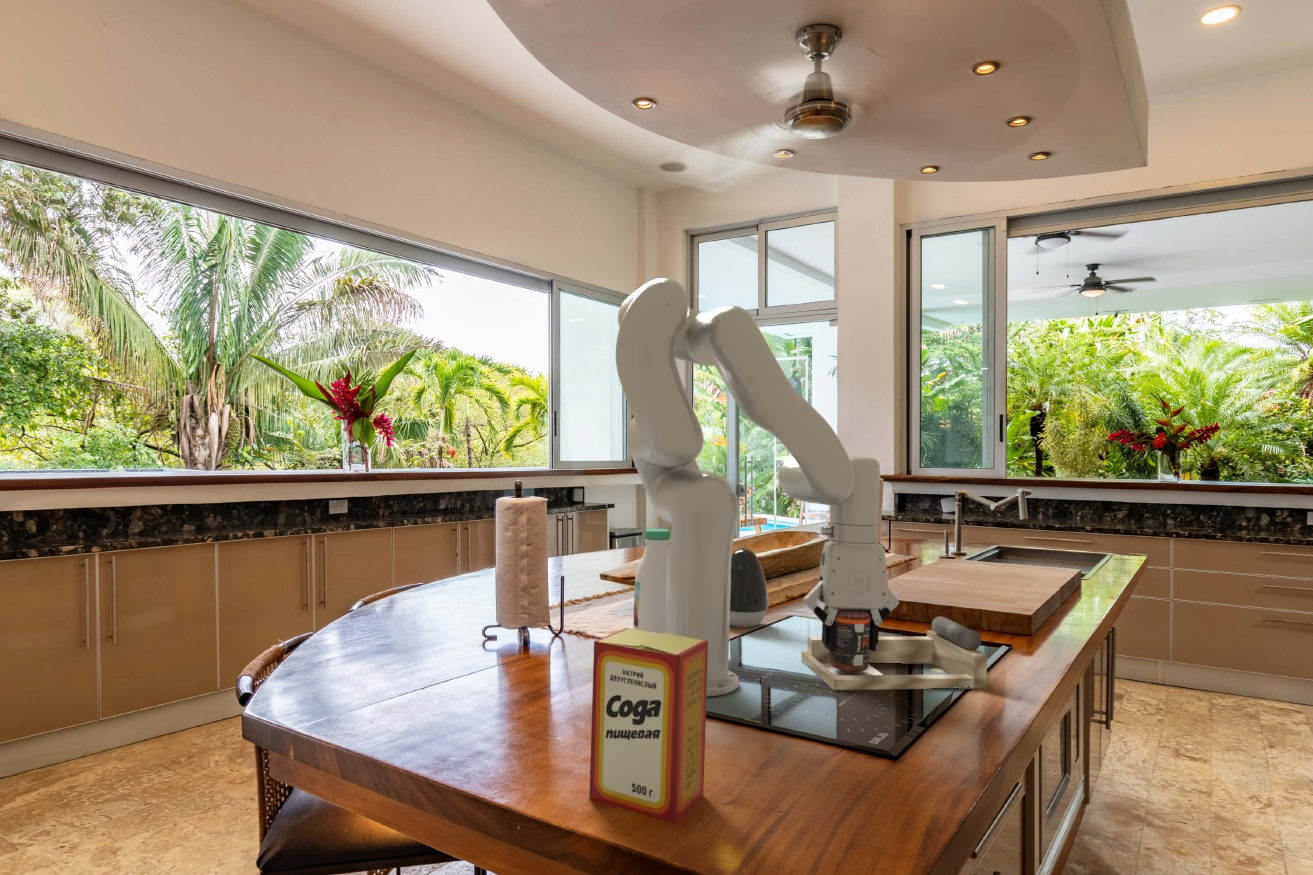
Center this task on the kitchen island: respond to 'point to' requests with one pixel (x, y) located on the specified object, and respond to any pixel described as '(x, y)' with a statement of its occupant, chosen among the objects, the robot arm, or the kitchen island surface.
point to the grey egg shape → (747, 590)
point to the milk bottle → (652, 583)
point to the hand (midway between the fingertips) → (849, 647)
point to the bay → (910, 660)
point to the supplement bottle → (851, 640)
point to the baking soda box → (648, 722)
